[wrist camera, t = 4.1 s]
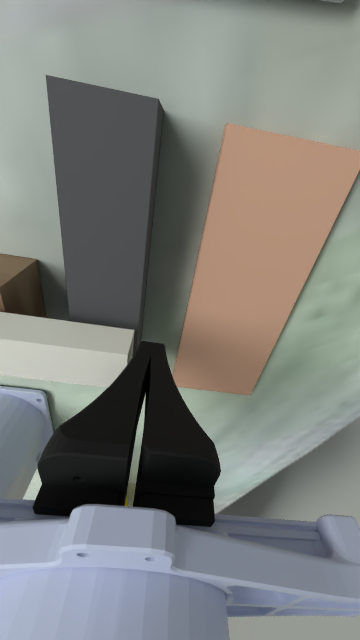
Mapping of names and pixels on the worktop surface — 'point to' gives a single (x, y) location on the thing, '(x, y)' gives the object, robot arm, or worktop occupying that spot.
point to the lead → (105, 198)
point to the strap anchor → (20, 286)
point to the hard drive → (335, 0)
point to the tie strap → (63, 350)
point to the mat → (257, 251)
